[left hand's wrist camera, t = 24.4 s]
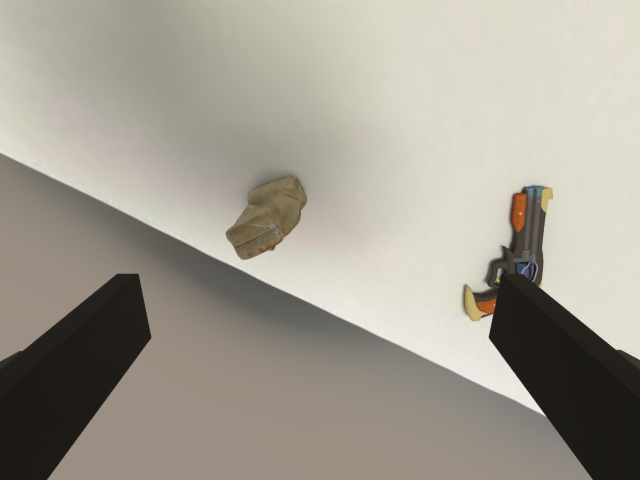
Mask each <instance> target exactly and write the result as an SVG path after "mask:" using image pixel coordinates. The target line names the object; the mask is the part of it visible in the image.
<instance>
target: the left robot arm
mask: <svg viewBox="0 0 640 480" xmlns="http://www.w3.org/2000/svg"><path fill="white" fill-rule="evenodd" d="M150 339H151V334H150V329H149V324H148V319H147V314H146V309H145V304H144V299H143V294H142V289H141V284H140V279H139V274H117V275H115V276H114V277H113V278H112V279H110V280H109V281H108V282H107V283H105V284H104V285H103V286H102V287H101V288H99V289H98V290H97V291H96V292H94V293H93V294H92V295H91V296H90V297H88V298H87V299H86V300H85V301H83V302H82V303H81V304H80V305H79V306H77V307H76V308H75V309H74V310H72V311H71V312H70V313H69V314H67V315H66V316H65V317H64V318H63V319H61V320H60V321H59V322H58V323H56V324H55V325H54V326H53V327H52V328H50V329H49V330H48V331H47V332H45V333H44V334H43V335H42V336H41V337H39V338H38V339H37V340H36V341H35V342H33V343H32V344H31V345H30V346H28V347H27V348H26V349H25V350H24V351H19V352H17V353H15V354H13V355H12V356H10V357H8V358H6V359H4V360H2V361H0V480H47V479H48V478H49V476H50V475H51V474H52V472H53V471H54V470H55V468H56V467H57V465H58V464H59V463H60V461H61V460H62V459H63V457H64V456H65V455H66V453H67V452H68V451H69V449H70V448H71V446H72V445H73V444H74V442H75V441H76V440H77V438H78V437H79V435H80V434H81V433H82V431H83V430H84V429H85V427H86V426H87V425H88V423H89V422H90V420H91V419H92V418H93V416H94V415H95V414H96V412H97V411H98V410H99V408H100V407H101V406H102V404H103V403H104V402H105V400H106V399H107V397H108V396H109V395H110V393H111V392H112V391H113V389H114V388H115V387H116V385H117V384H118V382H119V381H120V380H121V378H122V377H123V376H124V374H125V373H126V372H127V370H128V369H129V367H130V366H131V365H132V363H133V362H134V361H135V359H136V358H137V357H138V355H139V354H140V352H141V351H142V350H143V348H144V347H145V346H146V344H147V343H148V342H149V340H150ZM489 339H490V340H491V342H492V343H493V344H494V346H495V347H496V348H497V350H498V351H499V353H500V354H501V355H502V357H503V358H504V359H505V361H506V362H507V363H508V365H509V366H510V367H511V369H512V370H513V372H514V373H515V374H516V376H517V377H518V378H519V380H520V381H521V382H522V384H523V385H524V387H525V388H526V389H527V391H528V392H529V393H530V395H531V396H532V397H533V399H534V400H535V402H536V403H537V404H538V406H539V407H540V408H541V410H542V411H543V412H544V414H545V415H546V416H547V418H548V419H549V420H550V422H551V423H552V425H553V426H554V427H555V429H556V430H557V431H558V433H559V434H560V436H561V437H562V438H563V440H564V441H565V442H566V444H567V445H568V446H569V448H570V449H571V450H572V452H573V453H574V455H575V456H576V457H577V459H578V460H579V461H580V463H581V464H582V465H583V467H584V468H585V469H586V471H587V472H588V474H589V475H590V476H591V478H592V479H593V480H640V360H639V359H637V358H635V357H633V356H631V355H629V354H628V353H626V352H624V351H622V350H615V349H614V348H613V347H612V346H610V345H609V344H608V343H607V342H606V341H604V340H603V339H602V338H601V337H599V336H598V335H597V334H596V333H595V332H593V331H592V330H591V329H590V328H588V327H587V326H586V325H585V324H584V323H582V322H581V321H580V320H579V319H577V318H576V317H575V316H574V315H573V314H571V313H570V312H569V311H568V310H566V309H565V308H564V307H563V306H561V305H560V304H559V303H558V302H557V301H555V300H554V299H553V298H552V297H550V296H549V295H548V294H547V293H546V292H544V291H543V290H542V289H541V288H539V287H538V286H537V285H536V284H535V283H533V282H532V281H531V280H530V279H528V278H527V277H526V276H525V275H524V274H501V279H500V284H499V289H498V294H497V299H496V304H495V309H494V314H493V319H492V324H491V328H490V333H489Z"/></svg>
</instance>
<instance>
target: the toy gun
mask: <svg viewBox="0 0 640 480" xmlns="http://www.w3.org/2000/svg"><path fill="white" fill-rule="evenodd" d="M548 199H553V191H552V189H551V188H549V187H544V188H543V187H542V186H535V187H534V188H533V187H528V188H526V190H524V193H521V194H516V195H515V197H514V204H513V213H512V223H513V226H514V228H515V231H516V240H515V246H514V249H513V251H512V252H511V251H510V250H509V249H508V248H506V247H504V250H505V254H506V260H504V261H496V262H495V263H493V265H492V272H491V276H490V278H489V281H488V283H487V284H488V286H489V287H494V288H497V289H499V285H496V284H494V282H495V280H496V281H497V282H498V283H500V282H499V281H500V280H499V279H498V276H497V272H498V269H499V268H503V269H505V274H515V269H516V272H517V274H524V275H525V276H526V277H527V278H528V279H530V278H531V275H532V271H533V267H534V272H533V276H532V278H531V281H532V282H533V283H535V284H536V285H537V286H538V287H541V280H542V273H543V252H542V242H543V232H544V223H545V216H546V211H547V204H548ZM531 260H533V261H534V265H533V264H532V263H530V261H531ZM515 262H517V263H516V265H515ZM496 276H497V277H496ZM497 294H498V290H496V291H494V292H492V293H490V294H487V295H477V294H474V293H472V291H471V288H470V287H467V288H466V291H465V308H466V312H467V314H468V316H469V318H470V319H471V320H472V321H479V320H480V318H483V317H486V316H489V315H491V314H493V313H494V309H495V304H496V299H497Z"/></svg>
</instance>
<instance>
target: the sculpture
mask: <svg viewBox="0 0 640 480" xmlns="http://www.w3.org/2000/svg"><path fill="white" fill-rule="evenodd" d="M248 202H249V206H247V208H246V209H245V210H244V212H243V213H242V215H241V216H240V217H239V218H238V220H237V221H236V223H235V224H234V225H233V226H232V227H230V228H229V229H228V230H227V231H226V237H227V239H228V240H229V241H230V242H231V243H232V245H233V247H234V249H235V251H236V253H237V255H238V256H239V257H240V258H241V259H242V260H246V259H250V258H253V257H255V256H257V255H259V254H261V253H263V252H266V251H268V250H270V251H273V250H274V249H275V246H276V245H277V244H279V243H280V242H281V241H282V240H283V238H284V237H285V236H286V235H288V234H289V233H290V232H291V231H292V229H293V228H294V227H295V226H296V225H297V224H298V223H299V221H300V216H301V209H302V208H303V207H304V206H305V204H306V202H307V198H306V195H305V192H304V190H303V188H302V186H301V184H300V182H299V180H298V179H297V178H294V177H293V176H289V177H286V178H284V179H280V180H276V181H273V182H270V183H268V184H265V185H263V186H261V187H258V188H256V189H255V190H253V191H251V192H250V193H249V194H248Z"/></svg>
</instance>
